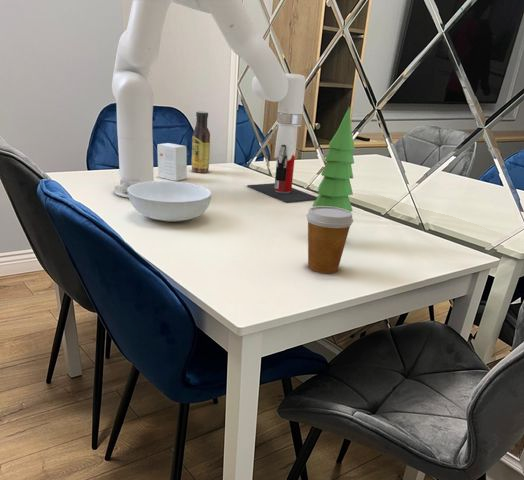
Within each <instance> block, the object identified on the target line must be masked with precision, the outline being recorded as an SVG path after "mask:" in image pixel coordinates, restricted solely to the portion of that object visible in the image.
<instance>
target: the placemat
mask: <svg viewBox="0 0 524 480" xmlns="http://www.w3.org/2000/svg"><path fill="white" fill-rule="evenodd" d="M274 187H275V182H272V183H259V184H247V188H250V189H252V190H255V191H257V192H259V193H262V194H264V195H267V196H269V197H272V198H274V199H277V200H279V201H282V202H284V203H286V204H289V203H290V204H291V203H301V202H311V201H315V200H316V199H317V197H318V196H315V195H313V194H310V193H307V192H304V191H303V190H300V189H296V188H294V187H292V190H291V192H290V193H279V192H276V191H275V190H274Z"/></svg>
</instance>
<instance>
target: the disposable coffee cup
mask: <svg viewBox="0 0 524 480" xmlns="http://www.w3.org/2000/svg"><path fill="white" fill-rule="evenodd" d="M305 217H306V221H307V259H308V260H307V268H308V269H309V270H310V271H313V272H316V273H320V274H333V273H337V272H338V271H339V267H340V263H341V259H342V257H343V252H344V249H345V247H346V246H345V245H346V243H347V239H348V236H349V231H350V228H351V226H352V224H353V223H354V219H353V213H352V212H350V211H348V210H345V209H342V208H338V207H331V206H315V207H313V206H311V207H310V208H309V210H308V211H307V214H306V216H305Z"/></svg>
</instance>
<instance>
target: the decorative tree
mask: <svg viewBox="0 0 524 480" xmlns="http://www.w3.org/2000/svg"><path fill="white" fill-rule="evenodd" d="M328 147H329V149H328V151H327V154H326V156H325V158H324V161H325V162H326V163H325V165H324V167H323V169H322V171H321V173H320V175H321V176H322V179H321V182H320V183H319V185H318V189H317V194H318V195H317V196H316V197H317V199H316V200H314V202H313V203H312V207H315V206H331V207H338V208H342V209H345V210H348V211H350V212H351V213H352V212H353V207H352V204H351V201H350V198H349V196H353V195H354V192H353V189H352V184H351V180H350V179H354V174H353V168H352V167H353V166H352V165H354V164H355V160H354V159H355V158H354V154H353V150H356V148H355V147H356V146H355V143H354V138H353V132H352V119H351V107H350V105H349V106H348V108H347V109H346V112H345V114H344V117H343V118H342V121H341V123H340V125H339V127H338V129H337V131H336V133H335V134H334V136H333V137H332V139H330V142H329V143H328Z"/></svg>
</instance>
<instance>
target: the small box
mask: <svg viewBox="0 0 524 480" xmlns="http://www.w3.org/2000/svg"><path fill="white" fill-rule="evenodd" d="M156 147H157V148H156V149H157V150H156V151H157V176H158V178H160V179H166V180H168V181H173V182H179V181H182V180H186V179H188V169H187V168H188V167H187V166H188V165H187V164H188V163H187V162H188V161H187V156H188V155H187V151H188V150H187V145H182V144H177V143H170V142H165V143H158V144H157V145H156Z"/></svg>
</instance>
